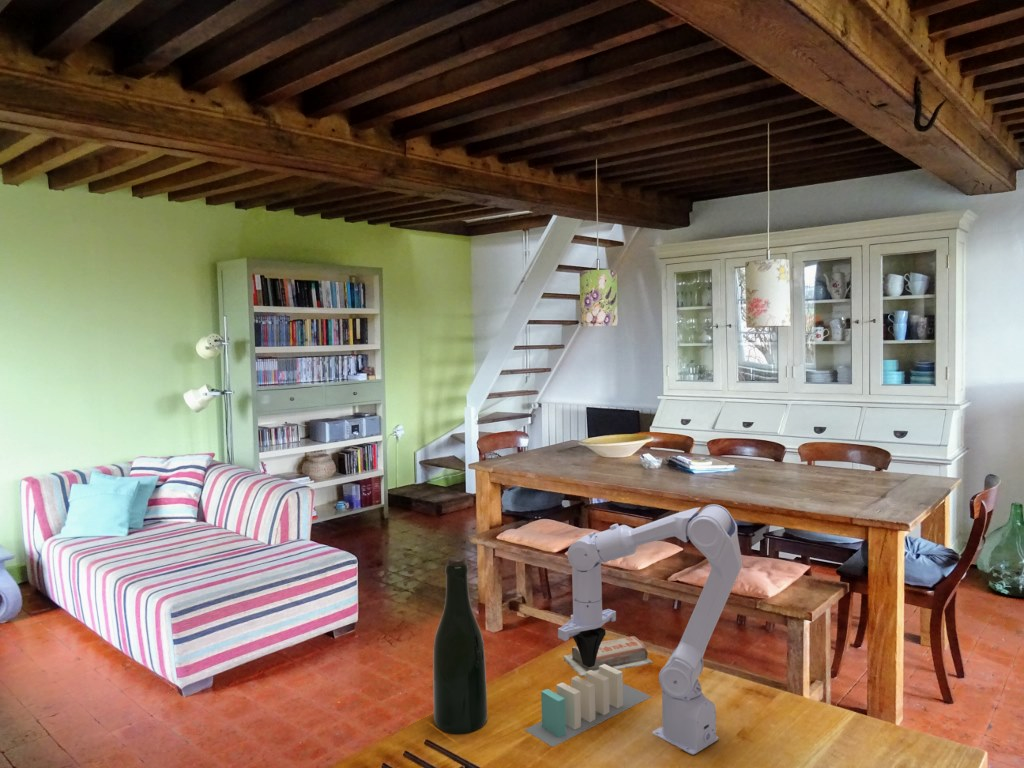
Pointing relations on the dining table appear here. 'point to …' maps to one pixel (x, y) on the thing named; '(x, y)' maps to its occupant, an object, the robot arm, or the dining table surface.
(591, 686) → the domino
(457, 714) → the beer bottle
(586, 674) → the domino
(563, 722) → the domino
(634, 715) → the dining table surface
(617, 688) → the domino
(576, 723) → the domino
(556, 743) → the mat
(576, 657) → the packaged product
